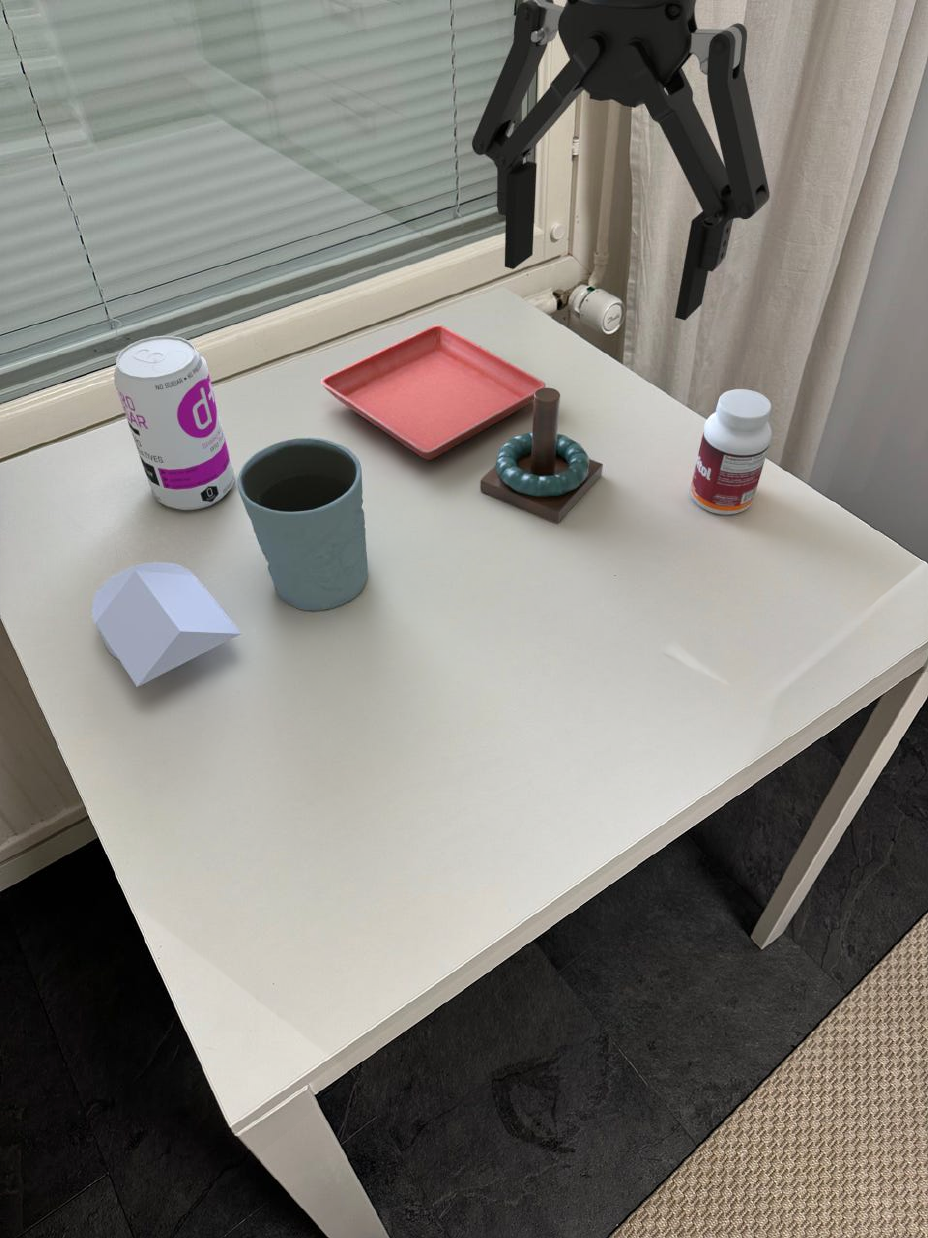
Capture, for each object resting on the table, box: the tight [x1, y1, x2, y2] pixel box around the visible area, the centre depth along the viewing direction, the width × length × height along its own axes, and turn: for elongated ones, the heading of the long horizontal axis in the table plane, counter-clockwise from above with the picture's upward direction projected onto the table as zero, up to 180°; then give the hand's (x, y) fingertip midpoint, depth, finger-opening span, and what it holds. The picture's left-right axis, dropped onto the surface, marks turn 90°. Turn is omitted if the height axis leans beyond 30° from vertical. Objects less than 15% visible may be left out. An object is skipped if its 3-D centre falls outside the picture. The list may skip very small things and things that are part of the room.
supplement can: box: [113, 335, 236, 511], centre depth 85 cm, size 8×8×15 cm
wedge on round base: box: [90, 561, 242, 688], centre depth 74 cm, size 9×7×13 cm
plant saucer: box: [320, 324, 546, 461], centre depth 99 cm, size 18×18×3 cm
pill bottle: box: [690, 388, 773, 515], centre depth 85 cm, size 6×6×11 cm
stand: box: [479, 387, 604, 524], centre depth 87 cm, size 9×9×10 cm
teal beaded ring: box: [495, 431, 590, 497], centre depth 89 cm, size 9×9×2 cm
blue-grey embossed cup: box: [237, 437, 368, 612], centre depth 77 cm, size 10×10×12 cm
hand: (599, 285), depth 63 cm, fingers open, 13 cm apart
